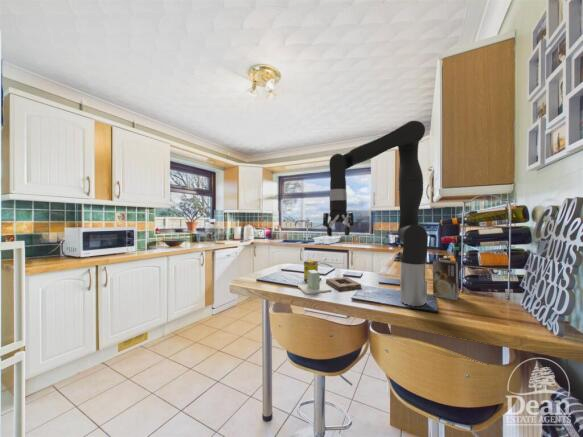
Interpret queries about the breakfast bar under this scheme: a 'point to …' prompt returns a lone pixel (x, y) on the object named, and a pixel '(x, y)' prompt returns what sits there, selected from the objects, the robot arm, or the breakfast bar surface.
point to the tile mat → (311, 291)
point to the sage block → (313, 279)
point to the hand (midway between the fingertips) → (338, 235)
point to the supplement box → (309, 267)
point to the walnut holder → (348, 286)
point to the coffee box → (445, 279)
